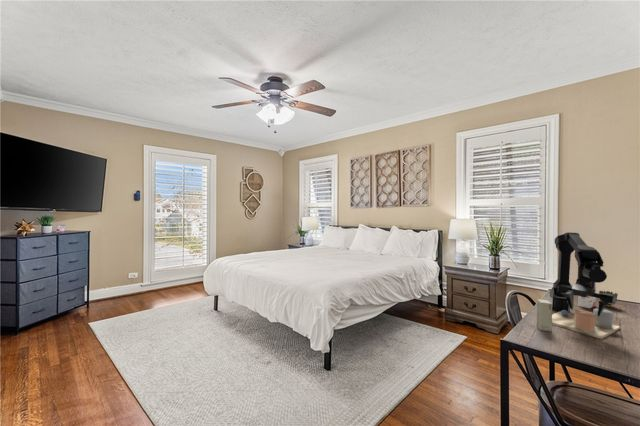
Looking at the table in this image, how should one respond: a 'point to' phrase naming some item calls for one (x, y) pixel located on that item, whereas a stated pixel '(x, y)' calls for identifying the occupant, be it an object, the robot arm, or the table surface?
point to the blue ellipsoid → (564, 313)
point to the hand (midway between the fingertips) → (585, 312)
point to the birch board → (569, 324)
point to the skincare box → (544, 315)
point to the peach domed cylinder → (584, 320)
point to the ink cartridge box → (587, 301)
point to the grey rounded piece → (603, 319)
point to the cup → (610, 293)
